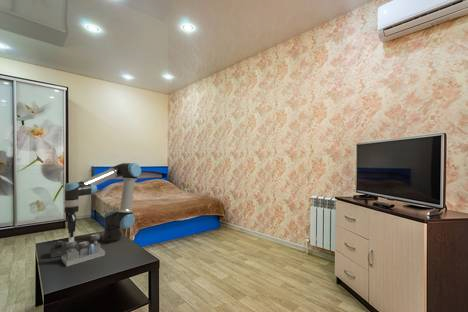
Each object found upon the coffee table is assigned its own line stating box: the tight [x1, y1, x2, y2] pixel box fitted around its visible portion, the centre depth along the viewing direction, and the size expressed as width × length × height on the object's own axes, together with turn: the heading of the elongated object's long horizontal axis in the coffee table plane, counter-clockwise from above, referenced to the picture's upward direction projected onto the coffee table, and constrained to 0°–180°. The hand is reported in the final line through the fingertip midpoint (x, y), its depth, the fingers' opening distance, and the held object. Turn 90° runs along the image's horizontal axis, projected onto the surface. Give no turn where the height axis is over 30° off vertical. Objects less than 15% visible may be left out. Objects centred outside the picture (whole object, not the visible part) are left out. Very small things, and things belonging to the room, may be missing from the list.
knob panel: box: [61, 242, 106, 267], centre depth 152 cm, size 22×14×7 cm, turn 138°
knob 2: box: [90, 233, 101, 245], centre depth 157 cm, size 6×6×7 cm
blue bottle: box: [89, 243, 94, 254], centre depth 151 cm, size 2×2×6 cm
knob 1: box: [66, 240, 78, 251], centre depth 147 cm, size 6×6×7 cm
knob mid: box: [78, 240, 90, 249], centre depth 152 cm, size 6×6×7 cm
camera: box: [49, 240, 70, 259], centre depth 157 cm, size 13×10×10 cm
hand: (71, 241), depth 147 cm, fingers closed
